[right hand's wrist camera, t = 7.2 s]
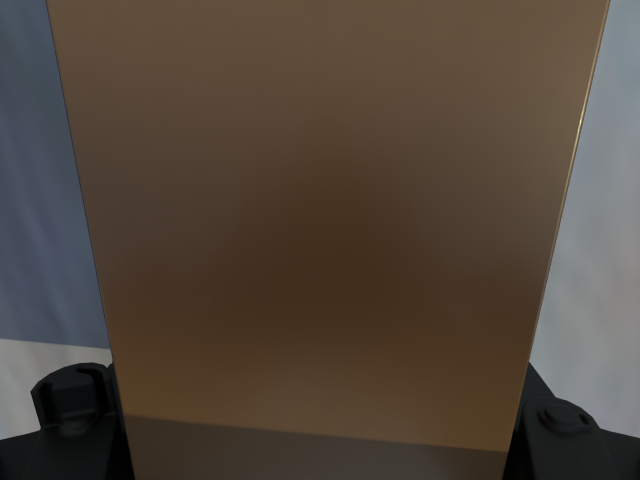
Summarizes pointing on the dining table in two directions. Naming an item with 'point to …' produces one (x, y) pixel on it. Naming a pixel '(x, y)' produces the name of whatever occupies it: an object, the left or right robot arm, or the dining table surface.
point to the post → (323, 223)
